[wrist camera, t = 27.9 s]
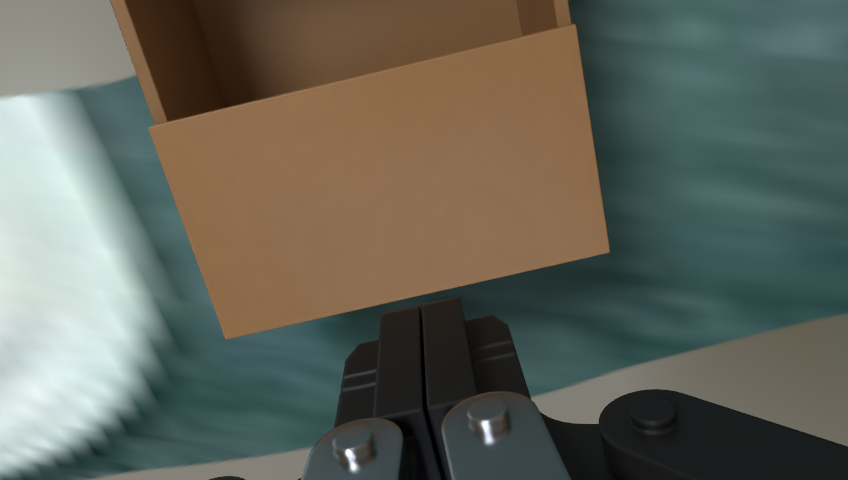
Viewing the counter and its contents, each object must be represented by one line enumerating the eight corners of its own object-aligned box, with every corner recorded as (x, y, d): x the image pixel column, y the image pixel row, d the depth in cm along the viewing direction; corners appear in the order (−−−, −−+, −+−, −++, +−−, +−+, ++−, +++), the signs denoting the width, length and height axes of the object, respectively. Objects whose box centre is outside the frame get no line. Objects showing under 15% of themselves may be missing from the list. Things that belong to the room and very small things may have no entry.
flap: (573, 23, 23) (576, 23, 23) (607, 249, 26) (610, 252, 26) (151, 125, 24) (147, 127, 24) (227, 335, 27) (225, 340, 26)
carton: (492, -192, 29) (527, -267, 21) (557, 190, 34) (606, 247, 26) (150, -104, 30) (56, -144, 22) (268, 257, 35) (229, 332, 27)
